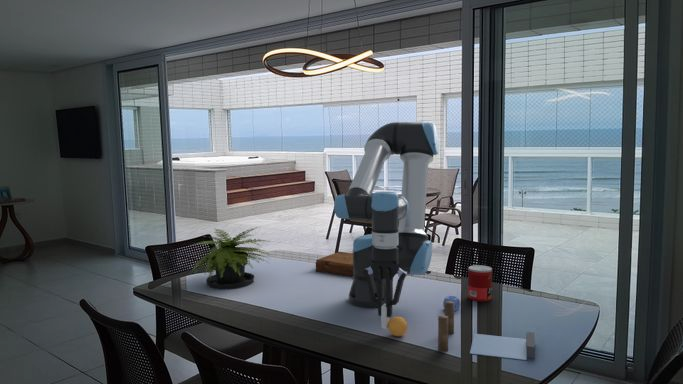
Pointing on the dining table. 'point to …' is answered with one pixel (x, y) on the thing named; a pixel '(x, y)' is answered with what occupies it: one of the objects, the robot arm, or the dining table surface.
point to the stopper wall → (530, 345)
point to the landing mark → (499, 346)
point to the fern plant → (229, 261)
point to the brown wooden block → (336, 264)
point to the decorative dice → (453, 299)
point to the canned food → (480, 283)
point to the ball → (397, 326)
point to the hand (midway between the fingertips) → (385, 327)
